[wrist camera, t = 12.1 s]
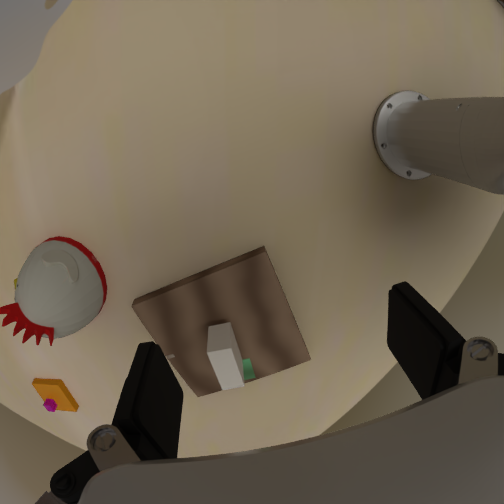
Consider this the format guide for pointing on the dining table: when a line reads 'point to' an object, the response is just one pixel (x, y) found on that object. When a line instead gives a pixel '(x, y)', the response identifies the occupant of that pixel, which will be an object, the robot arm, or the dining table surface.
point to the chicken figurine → (56, 291)
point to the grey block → (225, 356)
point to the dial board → (225, 320)
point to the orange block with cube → (55, 395)
